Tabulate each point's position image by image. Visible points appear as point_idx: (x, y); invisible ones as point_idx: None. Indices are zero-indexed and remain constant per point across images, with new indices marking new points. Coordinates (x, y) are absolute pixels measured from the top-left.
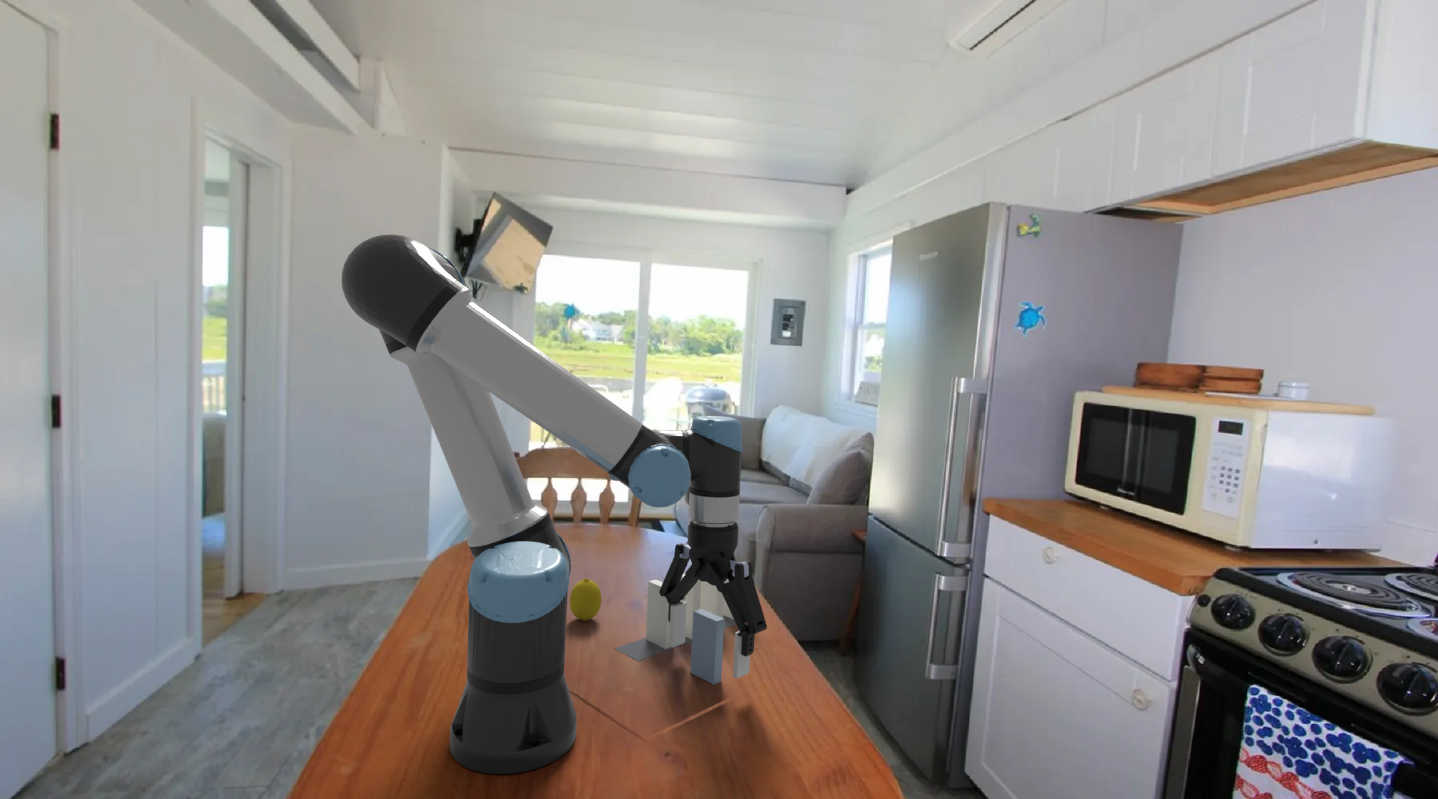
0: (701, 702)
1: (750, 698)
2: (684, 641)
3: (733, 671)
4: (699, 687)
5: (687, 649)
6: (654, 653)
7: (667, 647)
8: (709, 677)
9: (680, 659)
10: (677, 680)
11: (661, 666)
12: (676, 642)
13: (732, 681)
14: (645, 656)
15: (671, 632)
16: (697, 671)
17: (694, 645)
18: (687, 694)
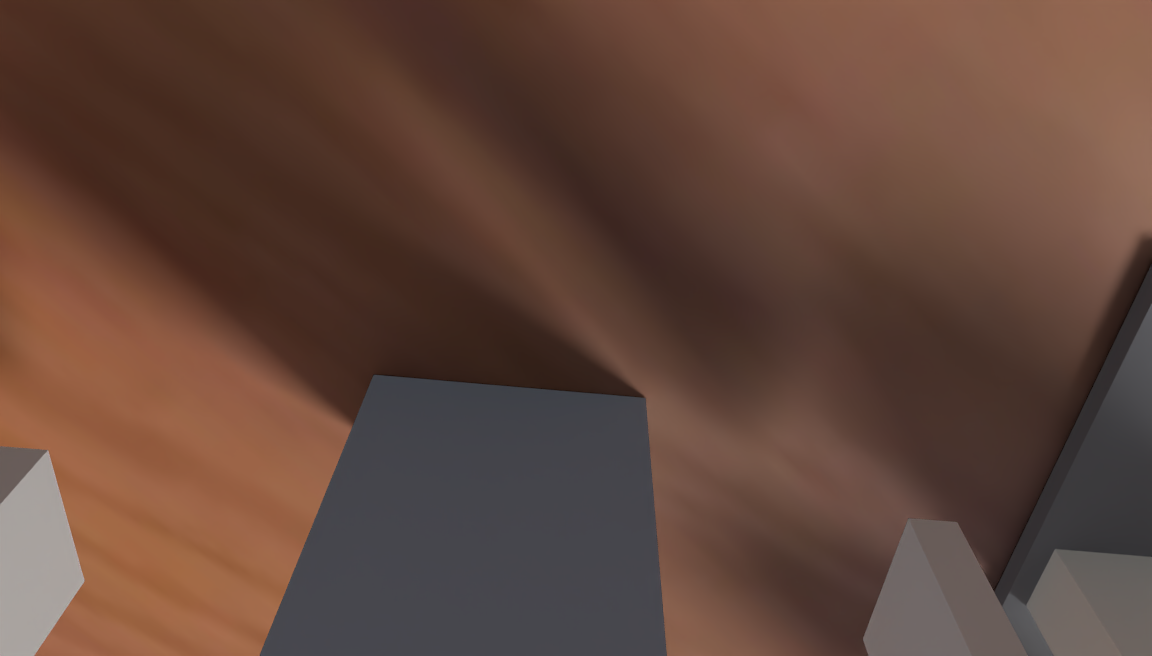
0: (236, 124)
1: (73, 421)
2: (867, 643)
3: (15, 487)
4: (445, 301)
5: None
6: (1101, 451)
7: (1051, 569)
8: (412, 415)
9: (867, 517)
10: (663, 267)
11: (932, 352)
12: (905, 584)
13: None
14: (1149, 369)
15: (992, 643)
16: (562, 427)
17: (616, 600)
18: (424, 145)
